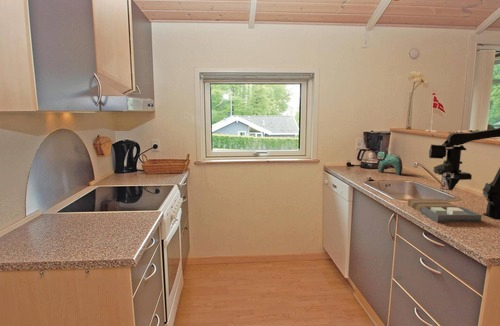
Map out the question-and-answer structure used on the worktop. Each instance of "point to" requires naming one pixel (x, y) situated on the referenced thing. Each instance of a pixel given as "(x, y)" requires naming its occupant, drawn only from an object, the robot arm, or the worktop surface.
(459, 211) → the white tile
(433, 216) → the box
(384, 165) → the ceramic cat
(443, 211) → the sage tile
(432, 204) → the walnut plate
